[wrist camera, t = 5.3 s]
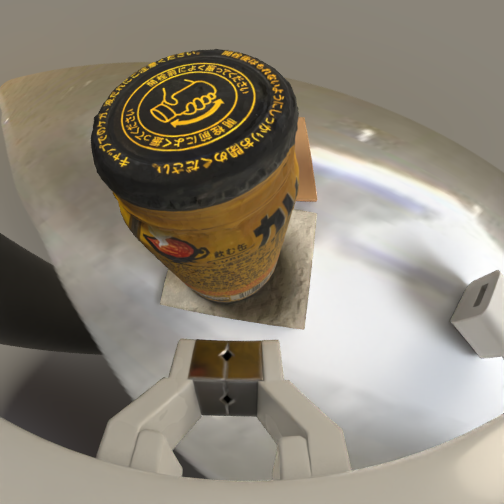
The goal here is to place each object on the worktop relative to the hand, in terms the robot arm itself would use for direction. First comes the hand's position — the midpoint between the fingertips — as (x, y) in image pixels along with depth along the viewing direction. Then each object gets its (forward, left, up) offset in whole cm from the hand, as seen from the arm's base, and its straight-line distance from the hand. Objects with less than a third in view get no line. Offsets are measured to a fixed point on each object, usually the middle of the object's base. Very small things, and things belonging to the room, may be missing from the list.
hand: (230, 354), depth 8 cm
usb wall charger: (+10, -15, -7) cm, 20 cm away
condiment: (+4, +3, -7) cm, 9 cm away
